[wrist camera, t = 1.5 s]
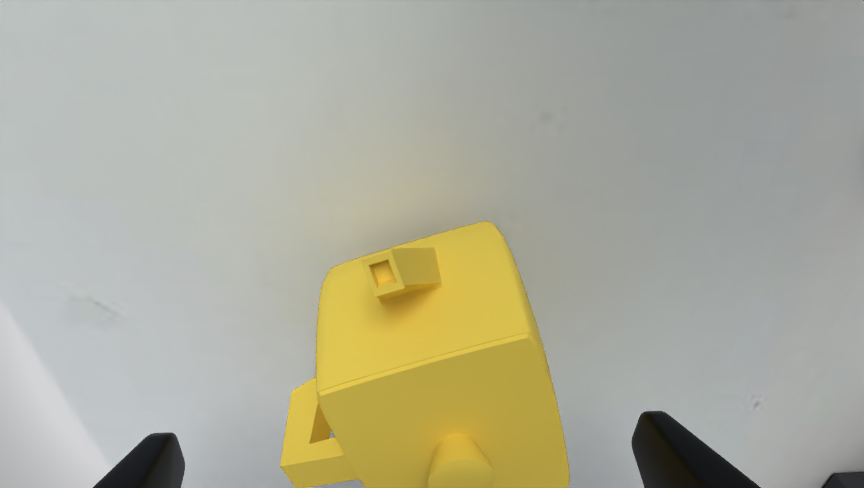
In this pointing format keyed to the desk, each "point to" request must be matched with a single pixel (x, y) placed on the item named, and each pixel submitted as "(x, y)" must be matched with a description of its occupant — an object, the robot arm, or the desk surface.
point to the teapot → (428, 374)
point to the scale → (846, 480)
